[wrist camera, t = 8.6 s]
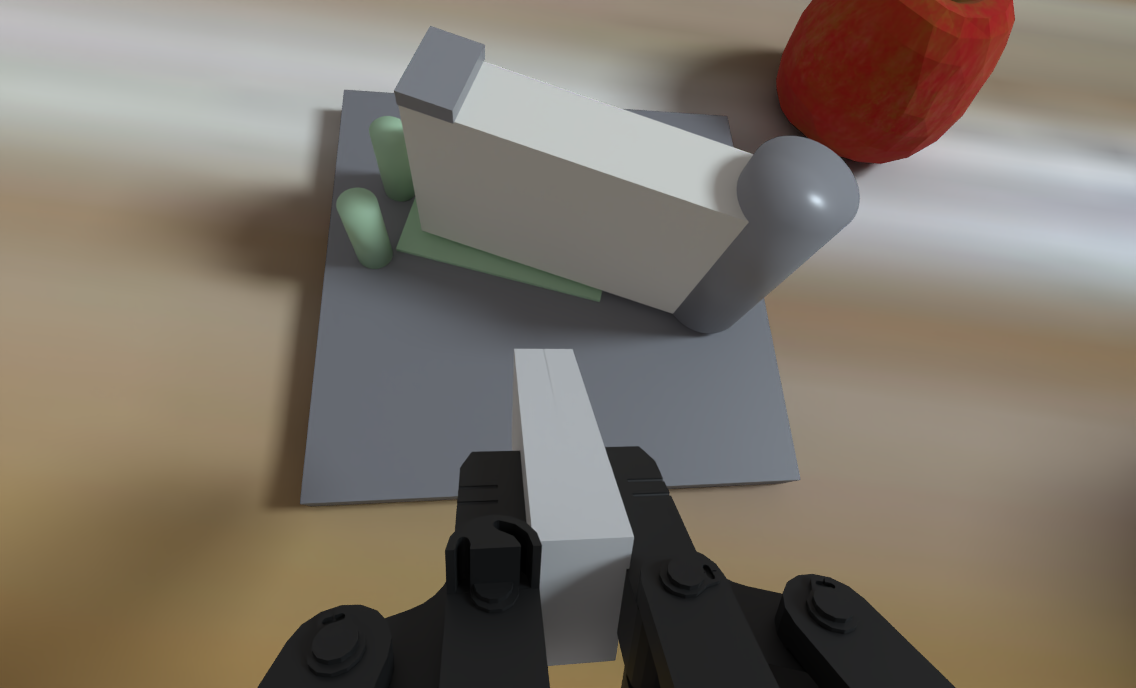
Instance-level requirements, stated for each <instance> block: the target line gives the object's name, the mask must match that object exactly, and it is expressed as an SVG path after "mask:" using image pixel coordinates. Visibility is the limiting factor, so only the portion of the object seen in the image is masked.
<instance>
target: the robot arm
mask: <svg viewBox="0 0 1136 688" xmlns="http://www.w3.org/2000/svg"><path fill="white" fill-rule="evenodd" d="M445 560H446V583H445V584H444V586H443V587H442V588H441V589H440V590H439V591H438V592H437V593H436V594H435V595H434V596H433V597H432V598H430V599H429V600H427V601H426V602H425V603H423V604H421V605H419V606H417V607H414V608H412V609H410V610H407V611H405V612H402V613H399V614H396V615H393V616H390V617H387V618H384V617H383V616H382V615H381V614H380V613H379V612H378V611H377V610H374V609H371V608H369V607H366V606H363V605H341V606H338V607H335V608H332V609H329V610H326V611H323V612H320V613H319V614H317V615H316V616H314V617H313V618H311V619H310V620H308V621H307V622H305V623H303V624H302V625H301V626H300V627H299V628H298V629H297V631H296V632H295V633H294V634H293V635H292V636H291V637H290V639H289V640H288V641H287V642H286V644H285V645H284V647H283V649H282V650H281V652H280V653H279V655H278V656H277V658H276V659H275V661H274V663H273V664H272V666H271V667H270V669H269V670H268V672H267V673H266V675H265V677H264V678H263V680H262V681H261V683H260V684H259V686H258V688H550V684H549V675H548V666H553V665H565V664H577V663H590V662H602V661H614V660H615V659H616V653H617V646H618V639H619V644H620V648H621V652H622V656H623V661H624V665H625V667H624V673H623V680H622V686H621V688H955V687H954V686H953V685H952V684H951V683H950V682H949V681H948V680H947V679H946V678H945V677H944V676H943V675H942V674H941V673H940V672H939V671H938V670H937V669H936V668H935V667H934V666H933V665H932V664H931V663H930V662H929V661H928V660H927V659H926V658H925V657H924V656H923V655H922V654H921V653H919V652H918V651H917V650H916V649H915V648H914V647H913V646H912V645H911V644H910V643H909V642H908V641H907V640H906V639H905V638H904V637H903V636H902V635H901V634H900V633H899V632H898V631H897V630H896V629H895V628H894V627H893V626H892V625H891V624H890V623H889V622H888V621H887V620H886V619H885V618H884V617H883V616H882V615H881V614H879V613H878V612H877V611H876V610H875V609H874V608H873V607H872V606H871V605H870V604H869V603H868V602H867V601H866V600H865V599H864V598H863V597H862V596H860V595H859V594H858V593H856V592H855V591H854V590H852V589H851V588H850V587H849V586H847V585H845V584H843V583H840V582H838V581H836V580H834V579H832V578H830V577H825V576H820V575H815V574H807V575H798V576H796V577H795V578H793V579H791V580H790V581H788V582H787V584H786V586H785V589H784V591H783V594H781V593H776V592H771V591H767V590H762V589H757V588H753V587H748V586H745V585H741V584H738V583H735V582H732V581H730V580H728V579H726V577H725V576H724V574H723V573H722V571H721V570H720V569H719V567H718V566H717V565H716V564H715V563H714V562H713V561H711V560H710V559H709V558H707V557H706V556H705V555H703V554H701V553H699V552H697V551H696V550H695V548H694V545H693V543H692V541H691V539H690V537H689V534H688V532H687V530H686V528H685V526H684V523H683V521H682V519H681V517H680V515H679V512H678V510H677V508H676V506H675V504H674V501H673V499H672V497H671V496H670V495H669V490H668V488H667V486H666V484H665V481H663V477H662V475H661V473H660V470H659V468H658V466H657V464H656V462H655V460H654V459H653V458H652V457H650V456H649V455H648V454H647V453H646V452H645V451H644V450H643V449H642V448H640V447H639V446H625V447H604V443H603V440H602V437H601V434H600V431H599V428H598V425H597V422H596V419H595V416H594V413H593V410H592V407H591V404H590V401H589V398H588V395H587V392H586V389H585V386H584V383H583V379H582V376H581V373H580V370H579V367H578V364H577V361H576V358H575V355H574V352H573V349H514V372H513V408H512V451H479V452H471V453H470V455H469V456H468V457H467V459H466V460H465V462H464V463H463V464H462V466H461V467H460V474H459V489H458V499H457V512H456V525H455V532H454V533H453V534H452V535H451V536H450V538H449V541H448V544H447V547H446V550H445Z"/></svg>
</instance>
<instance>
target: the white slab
mask: <svg viewBox="0 0 1136 688" xmlns="http://www.w3.org/2000/svg"><path fill="white" fill-rule="evenodd" d="M484 60H485V45H484V44H481V43H478V42H475V41H472V40H470V39H467V38H464V37H461V36H458V35H455V34H452V33H449V32H446V31H444V30H441V29H438V28H435V27H432V26H430V27H429V29H428V31H427V33H426V34H425V36H424V38H423V40H422V42H421V43H420V45H419V47H418V49H417V50H416V52H415V54H414V56H413V58H412V59H411V61H410V63H409V65H408V67H407V68H406V70H405V72H404V74H403V75H402V77H401V79H400V81H399V83H398V84H397V86H396V88H395V90H394V93H395V98H396V104H397V105H398V106H399V111H400V117H401V122H402V127H403V133H404V138H405V143H406V149H407V154H408V160H409V165H410V170H411V176H412V181H413V186H414V192H415V197H416V202H417V208H418V213H419V218H420V224H421V229H422V231H425V232H428V233H431V234H434V235H437V236H440V237H443V238H446V239H449V240H452V241H455V242H458V243H461V244H464V245H467V246H470V247H473V248H476V249H479V250H482V251H485V252H488V253H491V254H494V255H497V256H500V257H503V258H506V259H509V260H512V261H515V262H518V263H521V264H524V265H527V266H530V267H533V268H536V269H539V270H542V271H545V272H548V273H551V274H554V275H557V276H560V277H563V278H566V279H569V280H572V281H575V282H579V283H582V284H585V285H588V286H591V287H594V288H597V289H600V290H603V291H606V292H609V293H612V294H615V295H618V296H621V297H624V298H627V299H630V300H633V301H636V302H639V303H642V304H645V305H648V306H651V307H654V308H657V309H660V310H663V311H666V312H669V313H672V314H673V315H674V316H675V317H676V318H677V319H678V320H679V321H680V322H681V323H682V324H683V325H685V326H686V327H688V328H690V329H692V330H694V331H697V332H701V333H718V332H722V331H724V330H726V329H728V328H730V327H731V326H732V325H733V324H735V323H736V322H737V321H738V320H739V319H740V318H741V317H743V316H744V315H745V314H746V313H747V312H748V311H749V310H751V309H752V308H753V307H754V306H755V305H756V304H757V303H759V302H760V301H761V300H762V299H763V298H764V297H765V296H767V295H768V294H769V293H770V292H771V291H772V290H773V289H775V288H776V287H777V286H778V285H779V284H780V283H781V282H783V281H784V280H785V279H786V278H787V277H788V276H789V275H791V274H792V273H793V272H794V271H795V270H796V269H797V268H799V267H800V266H801V265H802V264H803V263H804V262H805V261H807V260H808V259H809V258H810V257H811V256H812V255H813V254H815V253H816V252H817V251H818V250H819V249H820V248H821V247H823V246H824V245H825V244H826V243H827V242H828V241H829V240H831V239H832V238H833V237H834V236H835V235H836V234H837V233H839V232H840V231H841V230H842V229H843V228H844V227H845V226H847V225H848V224H849V223H850V222H851V221H852V220H853V218H854V217H855V215H856V213H857V210H858V207H859V199H860V195H859V189H858V185H857V182H856V180H855V177H854V175H853V173H852V172H851V170H850V169H849V167H848V166H847V164H846V163H845V162H844V161H843V160H842V159H841V158H840V157H839V156H838V155H837V154H836V153H834V152H833V151H832V150H831V149H829V148H827V147H826V146H824V145H822V144H820V143H818V142H816V141H814V140H811V139H808V138H804V137H799V136H781V137H776V138H773V139H770V140H768V141H766V142H765V143H763V144H762V145H761V146H760V147H759V148H758V149H757V150H756V152H755V153H754V154H751V153H748V152H745V151H742V150H740V149H737V148H734V147H731V146H728V145H725V144H722V143H719V142H716V141H714V140H711V139H708V138H705V137H702V136H699V135H696V134H693V133H690V132H688V131H685V130H682V129H679V128H676V127H673V126H670V125H667V124H664V123H662V122H659V121H656V120H653V119H650V118H647V117H644V116H641V115H638V114H636V113H633V112H630V111H627V110H624V109H621V108H618V107H615V106H612V105H609V104H607V103H604V102H601V101H598V100H595V99H592V98H589V97H586V96H583V95H581V94H578V93H575V92H572V91H569V90H566V89H563V88H560V87H557V86H555V85H552V84H549V83H546V82H543V81H540V80H537V79H534V78H531V77H529V76H526V75H523V74H520V73H517V72H514V71H511V70H508V69H505V68H503V67H500V66H497V65H494V64H491V63H488V62H485V61H484Z"/></svg>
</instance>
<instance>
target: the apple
mask: <svg viewBox="0 0 1136 688" xmlns="http://www.w3.org/2000/svg"><path fill="white" fill-rule="evenodd" d="M1014 21H1015V15H1014V6H1013V0H812V1H811V3H810V4H809V5H808V7H807V8H806V9H805V10H804V12H803V13H802V15H801V17H800V19H799V21H798V23H797V25H796V27H795V29H794V31H793V33H792V35H791V37H790V39H789V41H788V43H787V45H786V47H785V49H784V52H783V54H782V58H781V62H780V66H779V70H778V74H777V78H776V85H777V93H778V98H779V102H780V106H781V110H782V111H783V113H784V114H785V116H786V117H787V119H788V120H789V122H791V123H792V124H793V125H794V126H795V127H796V128H797V129H799V130H800V131H801V132H802V133H803V134H804V135H805V136H807V137H808V138H809V139H811V140H814V141H816V142H818V143H820V144H822V145H824V146H826V147H827V148H829V149H831V150H832V151H833V152H834V153H836V154H837V155H838V156H841V157H844V158H847V159H850V160H853V161H856V162H866V163H879V164H882V163H886V162H890V161H895V160H899V159H903V158H907V157H910V156H911V155H913V154H915V153H917V152H918V151H920V150H922V149H923V148H925V147H927V146H929V145H930V144H932V143H934V142H936V141H937V140H938V139H939V138H940V137H941V136H942V135H943V134H944V133H945V132H946V131H947V130H948V129H949V128H950V127H951V126H952V125H953V124H954V123H955V122H956V121H958V120H959V119H960V118H961V117H962V116H963V114H964V113H965V111H966V110H967V108H968V107H969V105H970V104H971V102H972V101H973V99H974V98H975V96H976V95H977V93H978V92H979V90H980V89H981V87H982V86H983V85H984V83H985V82H986V80H987V79H988V77H989V76H990V75H991V73H992V72H993V70H994V68H995V66H996V64H997V62H998V60H999V58H1000V56H1001V54H1002V52H1003V50H1004V48H1005V46H1006V44H1007V41H1008V38H1009V35H1010V32H1011V30H1012V27H1013V24H1014Z"/></svg>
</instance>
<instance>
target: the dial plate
mask: <svg viewBox="0 0 1136 688" xmlns="http://www.w3.org/2000/svg"><path fill="white" fill-rule="evenodd" d="M624 110H627V111H630V112H633V113H636V114H638V115H641V116H644V117H647V118H650V119H653V120H656V121H659V122H662V123H664V124H667V125H670V126H673V127H676V128H679V129H682V130H685V131H688V132H690V133H693V134H696V135H699V136H702V137H705V138H708V139H711V140H714V141H716V142H719V143H722V144H725V145H728V146H731V147H733V143H732V138H731V133H730V128H729V123H728V118H727V116H718V115H703V114H689V113H674V112H660V111H645V110H631V109H624ZM514 349H573V352H574V355H575V358H576V361H577V364H578V367H579V370H580V373H581V376H582V379H583V383H584V386H585V389H586V392H587V395H588V398H589V401H590V404H591V407H592V410H593V413H594V416H595V419H596V422H597V425H598V428H599V431H600V434H601V437H602V440H603V443H604V447H625V446H639V447H640V448H642V449H643V450H644V451H645V452H646V453H647V454H648V455H649V456H650V457H652V458H653V459H654V460H655V462H656V464H657V466H658V468H659V470H660V473H661V475H662V477H663V481H665V484H666V486H667V488H668V489H675V488H696V487H716V486H737V485H757V484H777V483H787V482H792V481H797V480H800V475H799V470H798V465H797V460H796V455H795V450H794V445H793V440H792V435H791V430H790V425H789V420H788V415H787V410H786V405H785V400H784V396H783V391H782V386H781V381H780V376H779V371H778V366H777V361H776V356H775V351H774V346H773V341H772V336H771V331H770V326H769V321H768V316H767V311H766V306H765V301H764V298H763V299H762V300H761V301H760V302H759V303H757V304H756V305H755V306H754V307H753V308H752V309H751V310H749V311H748V312H747V313H746V314H745V315H744V316H743V317H741V318H740V319H739V320H738V321H737V322H736V323H735V324H733V325H732V326H731V327H730V328H728V329H726V330H724V331H722V332H718V333H701V332H697V331H694V330H692V329H690V328H688V327H686V326H685V325H683V324H682V323H681V322H680V321H679V320H678V319H677V318H676V317H675V316H674V315H673V314H672V313H669V312H666V311H663V310H660V309H657V308H654V307H651V306H648V305H645V304H642V303H639V302H636V301H633V300H630V299H627V298H624V297H621V296H618V295H615V294H612V293H609V292H606V291H603V290H600V289H597V288H594V287H591V286H588V285H585V284H582V283H579V282H575V281H572V280H569V279H566V278H563V277H560V276H557V275H554V274H551V273H548V272H545V271H542V270H539V269H536V268H533V267H530V266H527V265H524V264H521V263H518V262H515V261H512V260H509V259H506V258H503V257H500V256H497V255H494V254H491V253H488V252H485V251H482V250H479V249H476V248H473V247H470V246H467V245H464V244H461V243H458V242H455V241H452V240H449V239H446V238H443V237H440V236H437V235H434V234H431V233H428V232H425V231H422V229H421V224H420V218H419V213H418V208H417V202H416V197H415V192H414V186H413V181H412V176H411V170H410V165H409V160H408V154H407V149H406V143H405V138H404V133H403V127H402V122H401V117H400V111H399V106H398V105H397V104H396V98H395V93H384V92H370V91H355V90H344V95H343V105H342V114H341V124H340V133H339V142H338V152H337V161H336V170H335V180H334V189H333V199H332V208H331V217H330V227H329V236H328V245H327V255H326V264H325V274H324V283H323V292H322V302H321V311H320V320H319V330H318V339H317V349H316V358H315V367H314V377H313V386H312V395H311V405H310V414H309V424H308V433H307V442H306V452H305V461H304V470H303V480H302V489H301V498H300V504H303V505H307V506H328V505H349V504H369V503H390V502H410V501H430V500H451V499H458V489H459V474H460V467H461V466H462V464H463V463H464V462H465V460H466V459H467V457H468V456H469V455H470V453H471V452H479V451H512V408H513V372H514Z"/></svg>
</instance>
